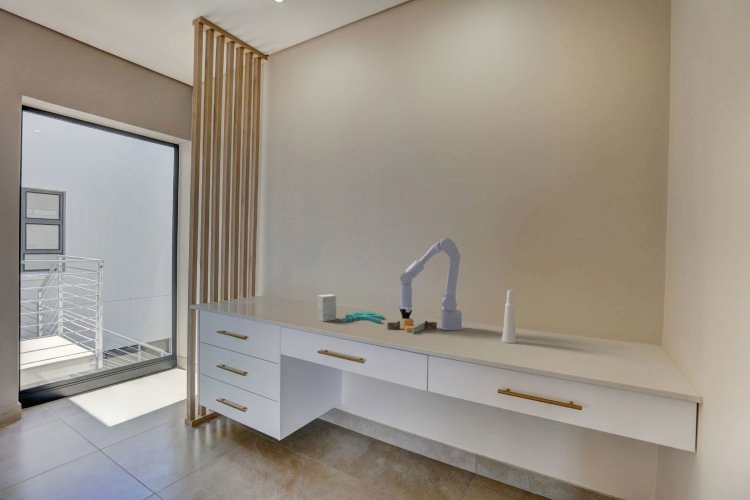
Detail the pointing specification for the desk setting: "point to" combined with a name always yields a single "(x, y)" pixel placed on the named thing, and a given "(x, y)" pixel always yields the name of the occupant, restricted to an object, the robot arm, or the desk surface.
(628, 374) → the desk surface
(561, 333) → the desk surface
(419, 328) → the grey rod
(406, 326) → the doorstop wedge
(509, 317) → the cosmetic bottle
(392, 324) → the frame
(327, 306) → the small box
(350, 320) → the alien figure
